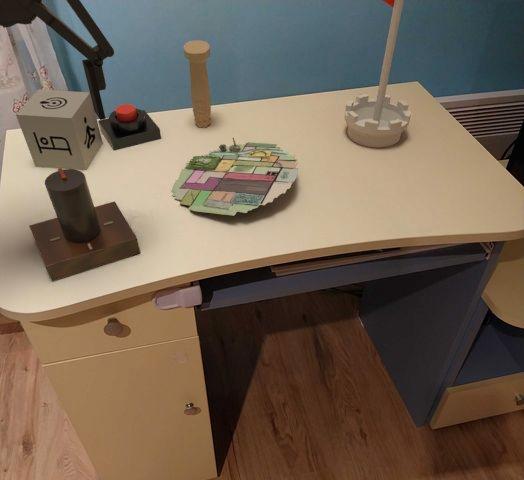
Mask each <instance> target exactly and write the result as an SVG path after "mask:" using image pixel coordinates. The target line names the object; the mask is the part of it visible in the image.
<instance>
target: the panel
mask: <svg viewBox="0 0 524 480" xmlns="http://www.w3.org/2000/svg"><path fill="white" fill-rule="evenodd" d="M94 208H95V211H96V214H97V218H98V221H99V225H100V228H101V229H100V233H99V234H98V235H97V236H96V237H95V238H94V239H92V240H90V241H87V242H81V243H75V242H71V241H69V240H67V239H66V238H65V237H64V234H63V232H62V229H61V226H60V224H59V221H58V218H57V217H54V218H50V219H47V220H43V221H40V222H39V221H38V222H37V223H32V224H30V225H28V227H29V229H30V231H31V235H32V237H33V239H34V242H35V244H36V247H37V250H38V252H39V254H40V257H41V259H42V261H43V264H44V267H45V269H46V271H47V274H48V276H49V278H50V280H51V282H56V281H58V280H61V279H64V278H68V277H70V276H74V275H77V274H80V273H82V272H83V273H84V272H86V271H90V270H92V269H95V268H99V267H102V266H105V265H108V264H111V263H114V262H117V261H121V260H123V259H124V260H125V259H127V258H129V257H133V256H136V255H139V254H141V249H140V244H139V240H138V237H137V236H136V234H135V232H134V231H133V229H132V227H131V226H130V224H129V222H128V221H127V218H125V216H124V214H123V213H122V211H121V209H120V208H119V206H118V204H117V203H116V201H111V202H108V203H103V204H99V205H97V206H94Z"/></svg>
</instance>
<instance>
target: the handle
mask: <svg viewBox="0 0 524 480" xmlns="http://www.w3.org/2000/svg"><path fill="white" fill-rule="evenodd" d="M183 55H184V57H185V59H187V60H188V64H189V78H190V100H191V107H192V108H191V109H192V114H193V117H194V123H195V125H196V126H198V128H204V129H205V128H206V129H207V127H208V126H210V125H211V123H212V121H211V120H212V118H211V115H212V114H211V113H212V106H211V105H212V103H211V92H210V91H211V90H210V84H209V73H208V66H207V59H208V58H210V57H211V48H210V44H209V43H208V42H207V41H206V40H199V39H198V40H197V39H195V40H189V41H187V42H185V43H184V45H183Z"/></svg>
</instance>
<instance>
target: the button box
mask: <svg viewBox="0 0 524 480" xmlns="http://www.w3.org/2000/svg"><path fill="white" fill-rule="evenodd" d="M135 108H136V113H137V118H136V119H134V120H131V121H119V120H118V119H117V116H116V111H115V110H114V111H112V112H110V113H109V117H107V118H106V119H102V120H100V119H99V120H97V122H98V126H99V130H100V133H101V134H102V135H103V136H104V138H105V139H106V141H107V143H108V144H109V145H110V147H111V148H112V150H113V151H117V150H123V149H127V148H130V147H134V146H138V145H142V144H147V143H150V142H155V141H157V140H162V135H161V129H160V127H159V126H158V124H156V122H155V121H154V120H153V118H152V117H151V116H150V115H149V113H147V112H146V110H145V109H139V108H137V107H135Z"/></svg>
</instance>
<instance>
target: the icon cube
mask: <svg viewBox="0 0 524 480" xmlns="http://www.w3.org/2000/svg"><path fill="white" fill-rule="evenodd" d="M15 116H16V119H17V121H18V124H19V127H20V130H21V133H22V135H23V137H24V140H25V143H26V145H27V148H28V151H29V153H30V156H31V158H32V161H33V164H34V167H36V168H49V169H60V168H62V170H65V169H74V170H78V171H88V169H89V167H90V165H91V164H92V163H93V161H94V160H95V157H96V156H97V154H98V152H99V151H100V149H101V147H102V146H103V144H104V142H103V137H102V133H101V130H100V126H99V122H98V119H97V114H96V113H95V111H94V107H93V103H92V99H91V95H90V91H89V92H87V91H72V90H57V89H56V90H54V89H39V88H38V89H37V90H35V92H34V93H33V94H32V96H31V97H29V99H28V100H27V101H26V102H25V103H24V104H23V106H22V107H21V108H20V109H19V110H18V111H17V113H15Z"/></svg>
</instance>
